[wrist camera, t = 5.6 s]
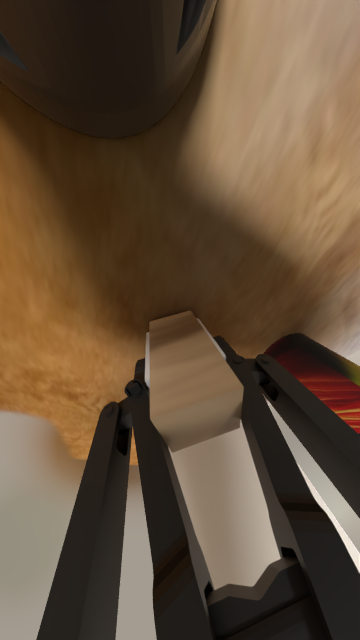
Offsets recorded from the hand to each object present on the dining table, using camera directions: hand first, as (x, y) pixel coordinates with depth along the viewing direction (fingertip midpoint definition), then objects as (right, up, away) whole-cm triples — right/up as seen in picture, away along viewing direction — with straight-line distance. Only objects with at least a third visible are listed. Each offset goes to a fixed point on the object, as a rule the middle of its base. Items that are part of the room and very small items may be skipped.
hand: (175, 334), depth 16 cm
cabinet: (+6, -19, +13) cm, 23 cm away
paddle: (+2, -8, +5) cm, 10 cm away
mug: (+21, -6, +10) cm, 24 cm away
